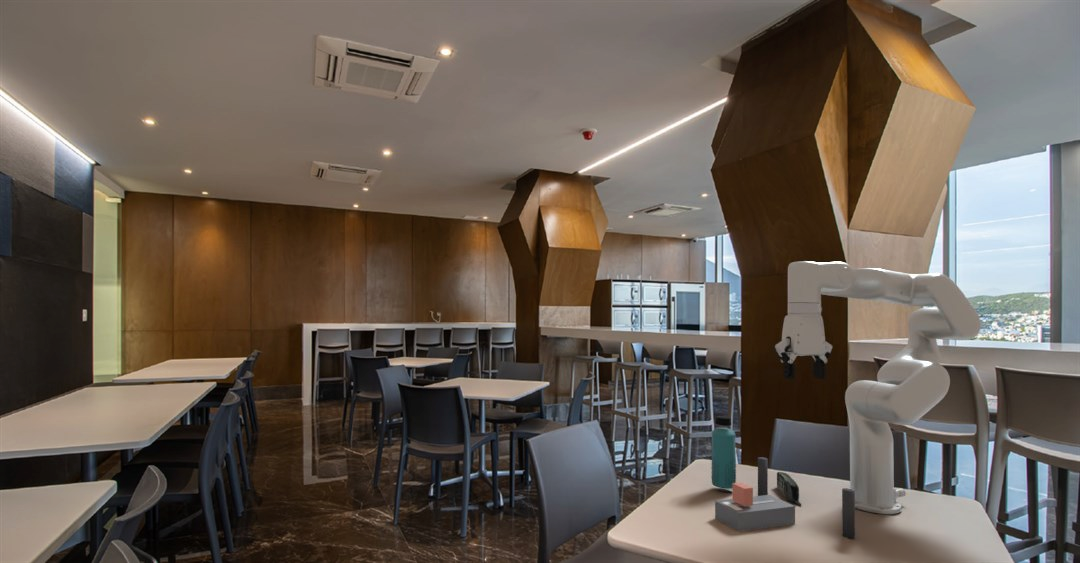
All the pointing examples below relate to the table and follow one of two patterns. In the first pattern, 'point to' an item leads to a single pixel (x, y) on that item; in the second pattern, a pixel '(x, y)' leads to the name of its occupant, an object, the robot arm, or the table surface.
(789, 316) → the robot arm
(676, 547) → the table surface
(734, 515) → the box
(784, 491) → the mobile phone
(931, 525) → the table surface
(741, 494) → the switch
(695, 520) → the table surface
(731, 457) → the beverage bottle
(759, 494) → the post
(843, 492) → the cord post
